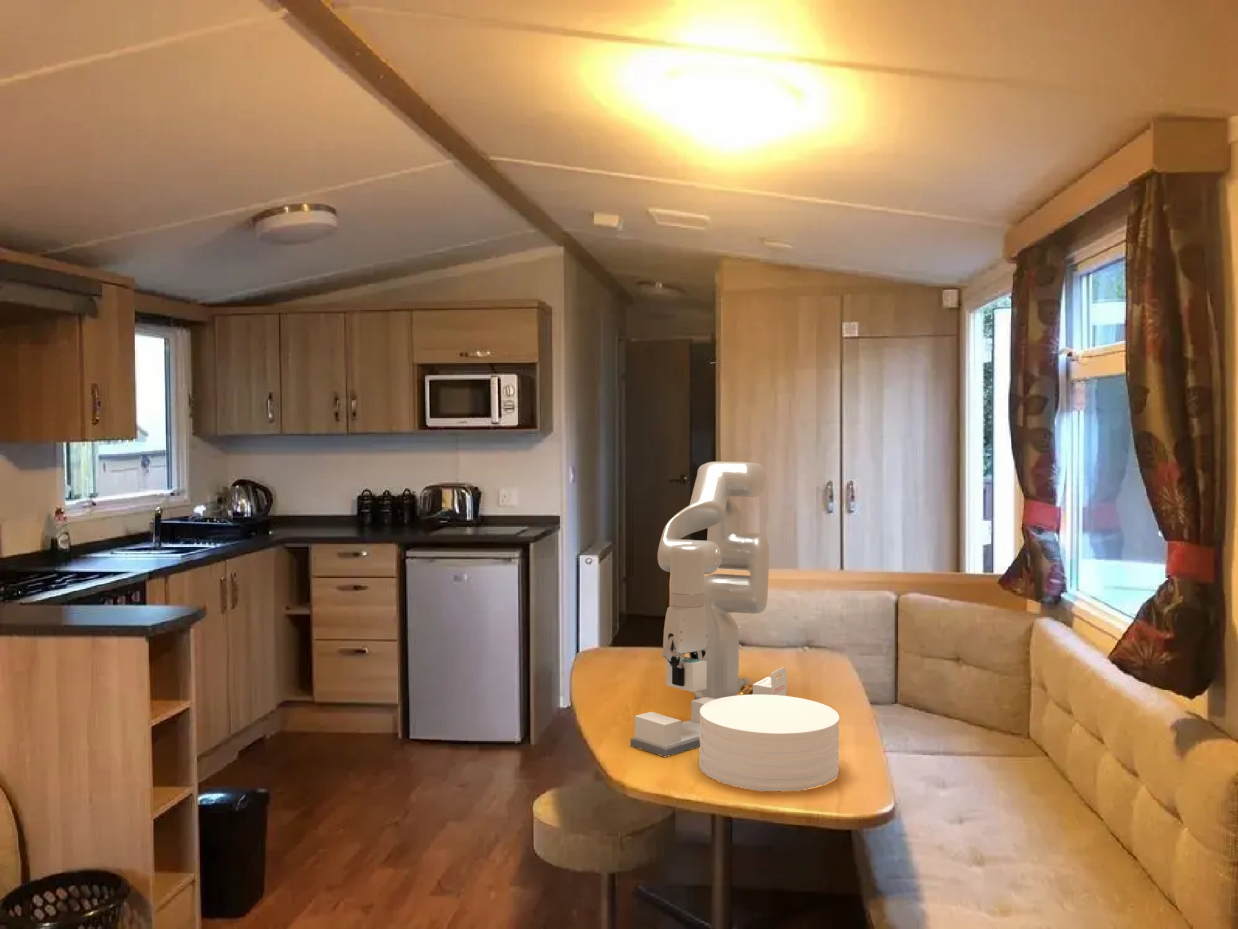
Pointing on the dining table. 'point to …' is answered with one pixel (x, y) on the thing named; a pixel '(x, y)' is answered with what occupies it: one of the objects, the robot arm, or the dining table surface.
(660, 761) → the dining table surface
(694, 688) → the block
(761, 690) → the ink cartridge box
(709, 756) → the plate stack
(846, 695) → the dining table surface
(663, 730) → the rail board
